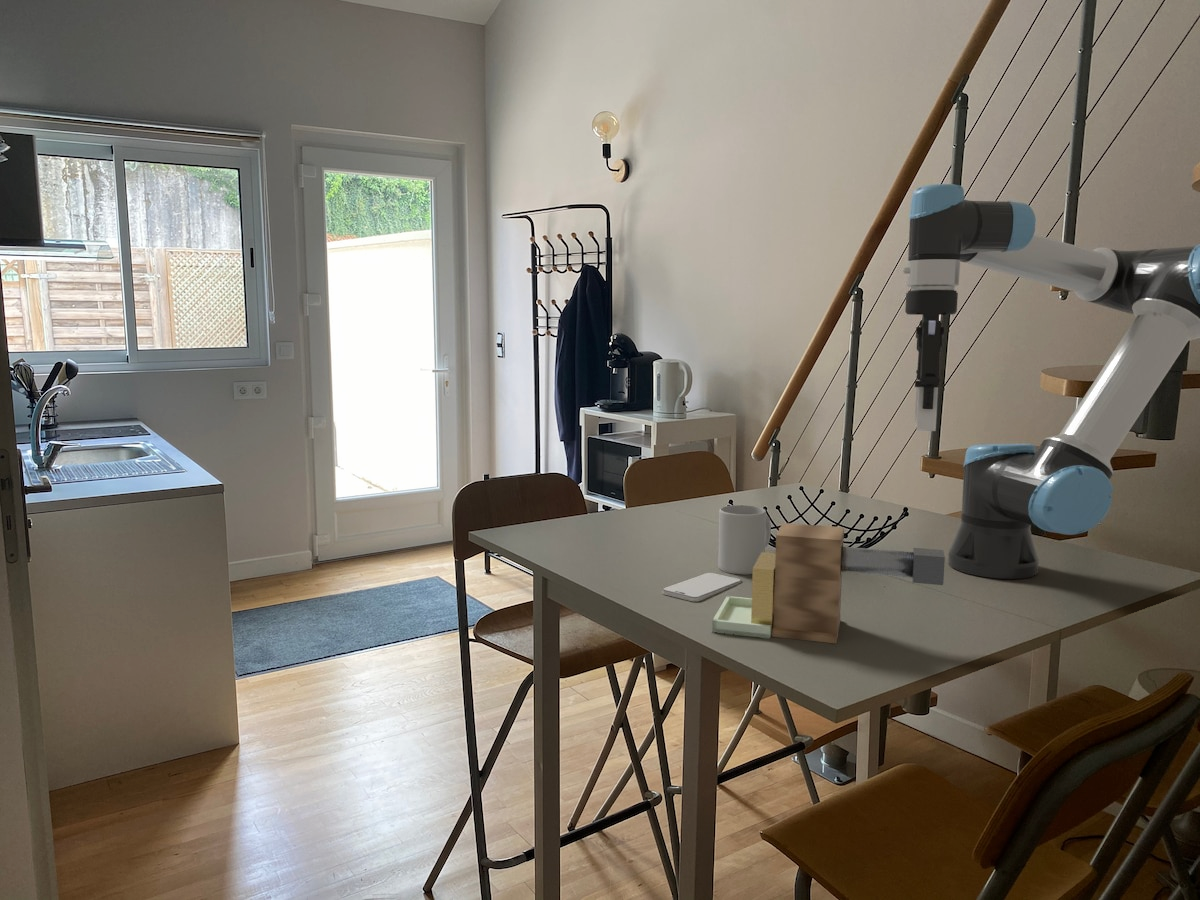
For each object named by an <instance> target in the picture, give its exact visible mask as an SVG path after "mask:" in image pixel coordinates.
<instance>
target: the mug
mask: <svg viewBox="0 0 1200 900" xmlns="http://www.w3.org/2000/svg"><path fill="white" fill-rule="evenodd" d="M718 510H719V511H718V513H719V515H718V550H717V551H718V555H717V567H718V569H719V570H720V571H722V572H725V573H727V574H731V575H732V574H733V575H744V576H745V575H748V576H749V575H753V567H754V565H755V563H756V561H757V560H758V558H759V556H760V554H761V552H766V548H767V546H768V545H769V544H770V539H771V534H772V532H771V530H772V529H771V528H772V527H771V526H772V525H771V519H770V516H768V514H767V511H766V509H765V508H763V507H759V506H755V505H746V504H745V505H744V504H734V505H733V504H731V505H726V506H722V507H721V508H719V509H718Z"/></svg>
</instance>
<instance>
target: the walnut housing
mask: <svg viewBox="0 0 1200 900" xmlns="http://www.w3.org/2000/svg"><path fill="white" fill-rule="evenodd" d="M844 537H845V527H843V526H831V525H817V524H816V525H815V524H804V523H791V522H790V523H789V522H782V523H781V525H780V527H779V529H778V531H777V533H776V535H775V553H776V557H775V589H774V622H773V630H772V635H771V637H772V638H773V637H774V638H782V639H783V638H784V639H793V640H800V641H801V640H802V641H809V642H810V641H811V642H819V643H829V644H837V642H838V636H839V630H840V624H841V607H842V605H841V604H842V586H843V585H842V581H843V572H841V571H840V568H841V547H844Z"/></svg>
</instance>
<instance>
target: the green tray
mask: <svg viewBox="0 0 1200 900" xmlns="http://www.w3.org/2000/svg"><path fill="white" fill-rule="evenodd" d="M751 613H752V597H741V596H732V595H731V596H730V595H726V597H725V598H724V600H723V602H722V604H721V605H720V607H719V609H718V610H717V612H716V613H715V615H714V617H713V619H712V622H711V623H712V624H711V629H712V630H711V632H712V633H715V632H717V633H716V634H724V633H725V634H724V635H733V634H734V635H733V636H743V637H753V638H762V639H771V637H772V631H771V625H764V624H754V623H751Z"/></svg>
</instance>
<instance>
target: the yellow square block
mask: <svg viewBox="0 0 1200 900" xmlns="http://www.w3.org/2000/svg"><path fill="white" fill-rule="evenodd" d="M775 557H776V552H775V553H774V552H767V551H765V552H761V554H760V556H759V558H758V560H757V561H756V563H755V565H754V567H753V574H752V582H751V598H752V613H751V623H754V624H764V625H771V631H772V630H773V622H774V589H775Z"/></svg>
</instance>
